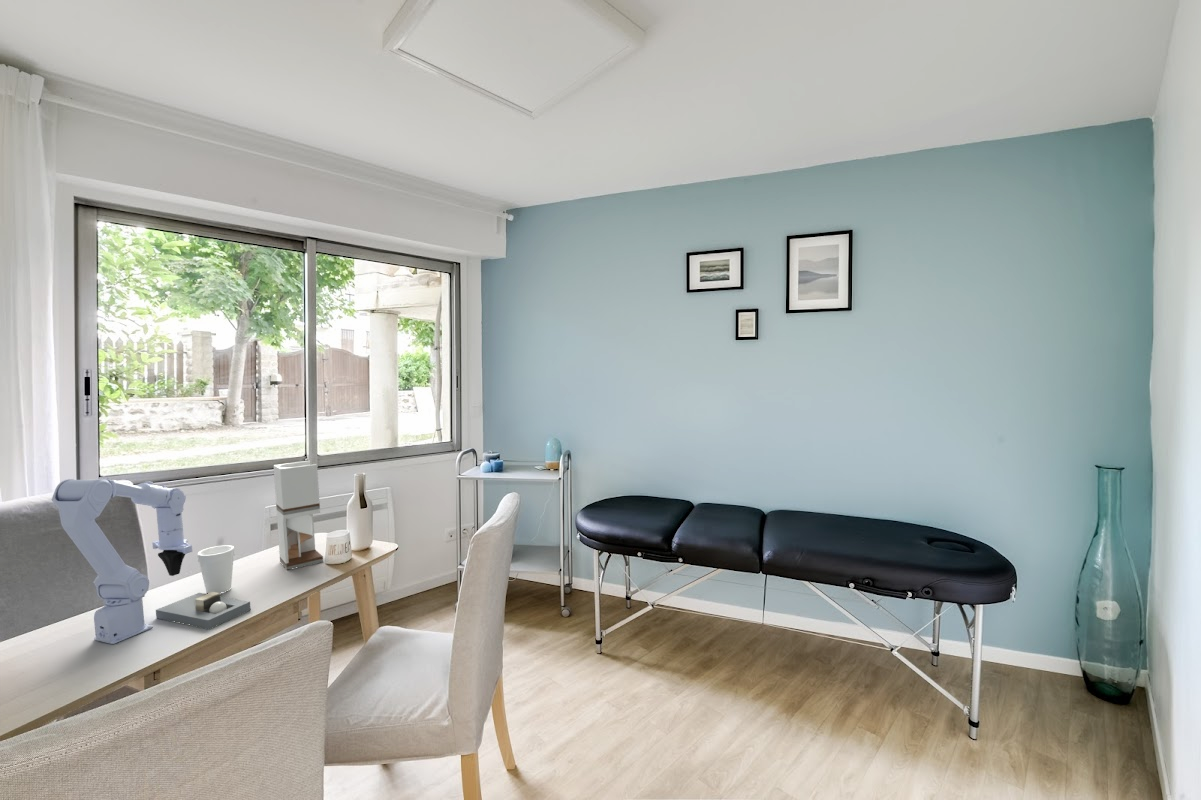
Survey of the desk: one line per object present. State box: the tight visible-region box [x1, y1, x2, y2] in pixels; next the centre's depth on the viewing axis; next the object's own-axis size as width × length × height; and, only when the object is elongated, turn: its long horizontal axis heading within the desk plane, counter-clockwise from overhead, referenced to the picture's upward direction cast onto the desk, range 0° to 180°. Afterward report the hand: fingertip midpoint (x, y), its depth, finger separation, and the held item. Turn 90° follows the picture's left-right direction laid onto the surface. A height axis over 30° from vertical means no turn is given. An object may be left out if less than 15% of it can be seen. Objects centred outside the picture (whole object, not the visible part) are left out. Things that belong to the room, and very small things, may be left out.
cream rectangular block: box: [195, 592, 221, 611], centre depth 158 cm, size 5×3×3 cm
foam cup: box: [197, 544, 235, 594], centre depth 174 cm, size 10×9×13 cm
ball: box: [209, 602, 227, 614], centre depth 156 cm, size 4×4×4 cm
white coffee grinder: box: [273, 460, 324, 570], centre depth 197 cm, size 11×11×35 cm
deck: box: [155, 592, 251, 630], centre depth 158 cm, size 12×21×2 cm, turn 70°
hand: (174, 574), depth 164 cm, fingers closed
